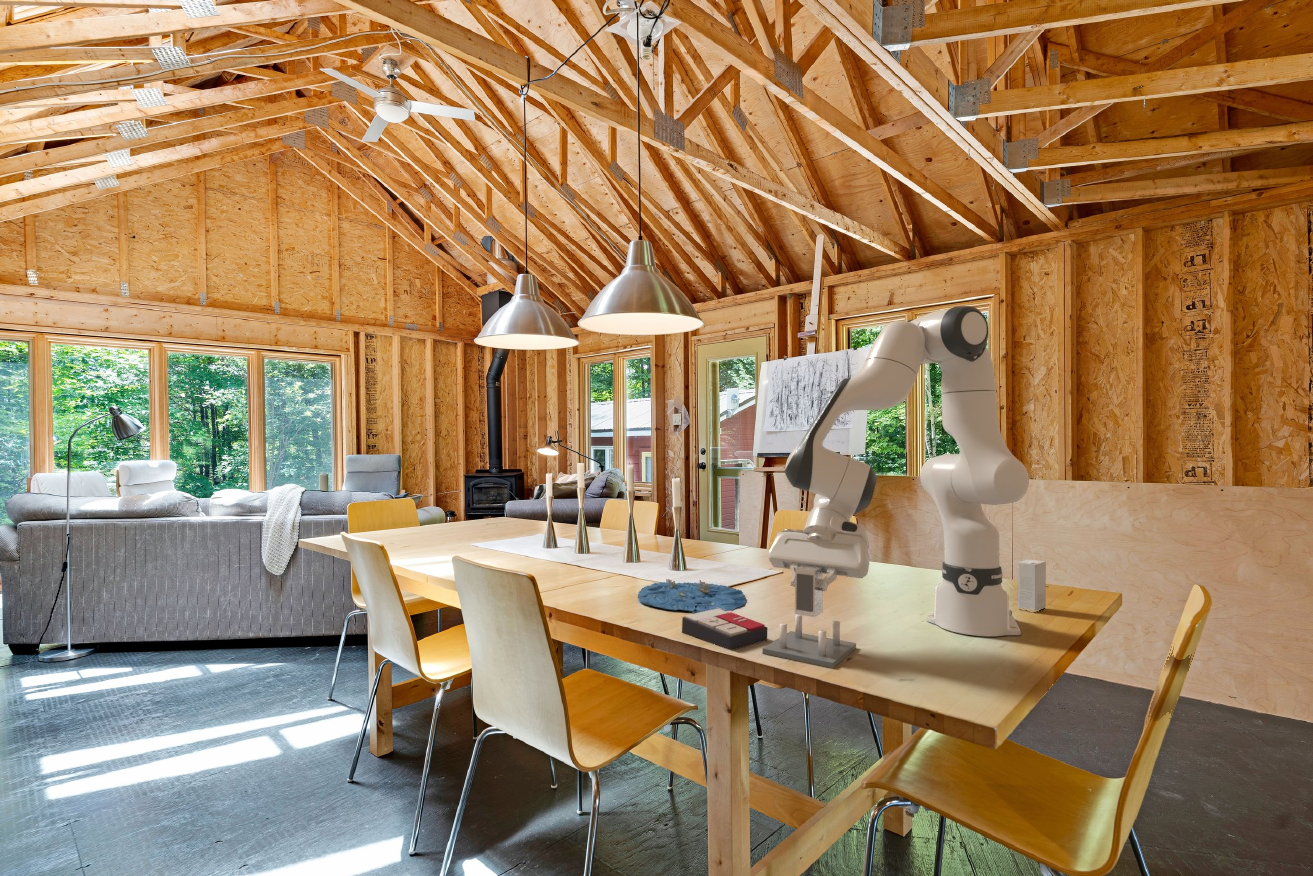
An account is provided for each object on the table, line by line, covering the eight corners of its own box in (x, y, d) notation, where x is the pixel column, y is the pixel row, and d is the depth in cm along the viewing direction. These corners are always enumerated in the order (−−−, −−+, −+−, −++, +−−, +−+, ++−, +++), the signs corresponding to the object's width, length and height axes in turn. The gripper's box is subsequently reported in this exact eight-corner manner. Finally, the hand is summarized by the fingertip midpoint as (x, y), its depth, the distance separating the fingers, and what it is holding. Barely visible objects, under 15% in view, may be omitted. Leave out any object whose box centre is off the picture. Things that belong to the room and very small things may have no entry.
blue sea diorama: (771, 604, 165) (772, 584, 165) (700, 626, 143) (701, 603, 143) (688, 582, 185) (688, 565, 185) (615, 598, 163) (615, 579, 163)
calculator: (731, 633, 122) (681, 613, 134) (730, 655, 122) (680, 633, 134) (768, 623, 129) (718, 605, 141) (767, 644, 129) (717, 624, 141)
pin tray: (790, 635, 132) (790, 610, 132) (856, 648, 124) (856, 620, 124) (762, 653, 120) (762, 625, 120) (832, 668, 112) (832, 638, 112)
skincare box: (1027, 606, 157) (1027, 558, 157) (1047, 609, 153) (1046, 561, 153) (1016, 609, 153) (1016, 561, 153) (1036, 613, 150) (1036, 564, 150)
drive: (803, 609, 125) (803, 564, 125) (822, 612, 123) (822, 567, 123) (794, 614, 121) (794, 568, 121) (814, 617, 119) (814, 570, 119)
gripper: (775, 519, 134) (755, 571, 126) (871, 527, 122) (855, 585, 114) (783, 537, 137) (764, 589, 129) (877, 546, 126) (862, 604, 117)
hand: (808, 587), depth 121 cm, fingers closed on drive, 4 cm apart
